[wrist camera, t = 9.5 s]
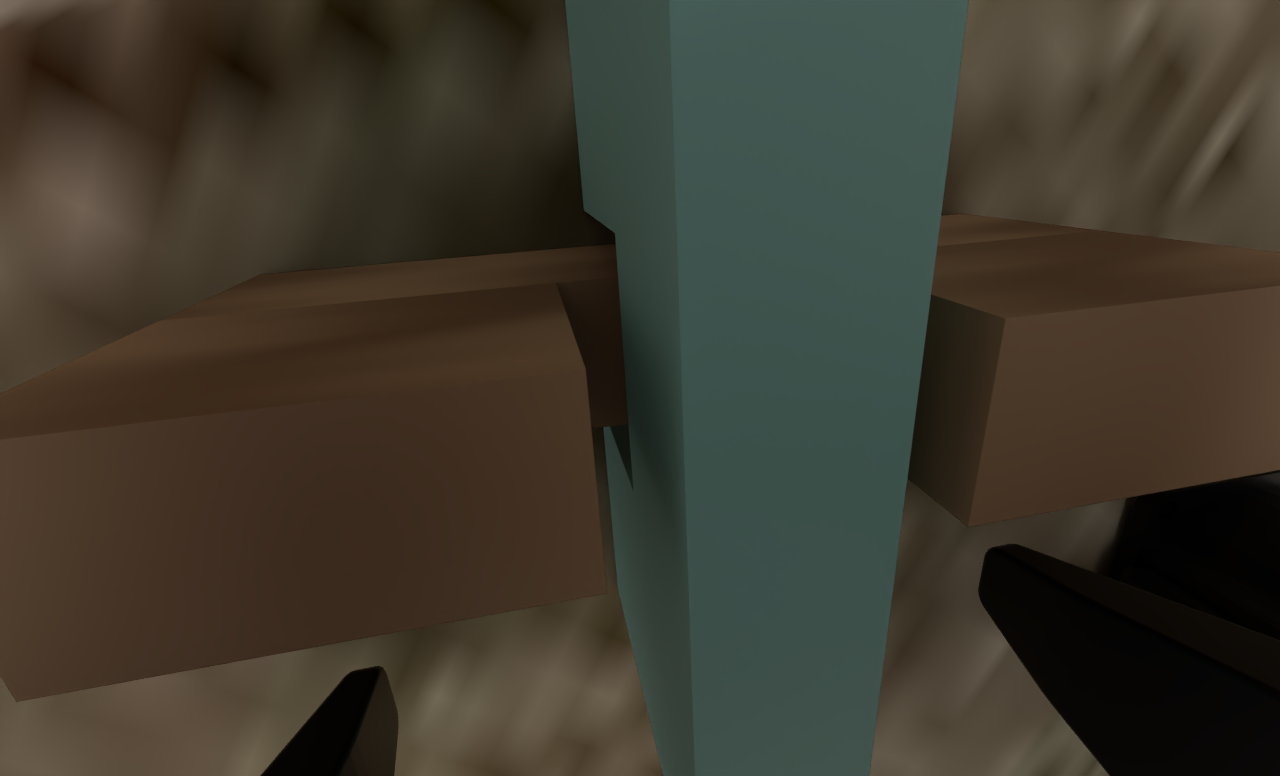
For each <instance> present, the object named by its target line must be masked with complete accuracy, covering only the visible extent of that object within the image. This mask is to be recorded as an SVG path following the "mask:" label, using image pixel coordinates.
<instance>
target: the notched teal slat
mask: <svg viewBox="0 0 1280 776" xmlns="http://www.w3.org/2000/svg"><path fill="white" fill-rule="evenodd" d="M968 2H969V0H565V5H566V16H567V27H568V39H569V50H570V61H571V72H572V83H573V94H574V106H575V117H576V128H577V139H578V150H579V161H580V173H581V184H582V195H583V206H584V211H585V212H587V213H588V214H589V215H591V216H592V217H594V218H595V219H596V220H598V221H599V222H600V223H602V224H603V225H605V226H606V227H607V228H609V229H610V230H611V231H613V232H614V233H615V241H616V255H617V269H618V283H619V297H620V311H621V325H622V339H623V353H624V367H625V381H626V394H627V408H628V422H629V424H624V425H617V426H610V427H603V429H604V440H605V452H606V463H607V474H608V485H609V496H610V507H611V519H612V530H613V541H614V552H615V563H616V574H617V586H618V592H619V596H620V600H621V604H622V608H623V612H624V616H625V620H626V625H627V629H628V633H629V637H630V641H631V645H632V649H633V653H634V657H635V662H636V666H637V670H638V674H639V678H640V682H641V686H642V690H643V694H644V699H645V703H646V707H647V711H648V715H649V719H650V723H651V727H652V731H653V736H654V740H655V744H656V748H657V752H658V756H659V760H660V764H661V768H662V773H663V776H869V773H870V766H871V758H872V750H873V742H874V734H875V727H876V719H877V711H878V703H879V695H880V688H881V680H882V672H883V664H884V656H885V649H886V641H887V633H888V625H889V618H890V610H891V602H892V594H893V586H894V579H895V571H896V563H897V555H898V547H899V540H900V532H901V524H902V516H903V508H904V501H905V493H906V485H907V477H908V469H909V462H910V454H911V446H912V438H913V431H914V423H915V415H916V407H917V399H918V392H919V384H920V376H921V368H922V360H923V353H924V345H925V337H926V329H927V321H928V314H929V306H930V298H931V290H932V282H933V275H934V267H935V259H936V251H937V244H938V236H939V228H940V220H941V212H942V205H943V197H944V189H945V181H946V173H947V166H948V158H949V150H950V142H951V134H952V127H953V119H954V111H955V103H956V95H957V88H958V80H959V72H960V64H961V57H962V49H963V41H964V33H965V25H966V18H967V10H968Z"/></svg>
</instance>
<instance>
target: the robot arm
mask: <svg viewBox="0 0 1280 776" xmlns="http://www.w3.org/2000/svg"><path fill="white" fill-rule="evenodd" d="M978 592H979V597H980V600H981V603H982V605H983V606H984V608H985V610H986V611H987V612H988V614H989V615H990V617H991V618H992V620H993V621H994V623H995V624H996V626H997V627H998V629H999V630H1000V631H1001V633H1002V634H1003V636H1004V637H1005V639H1006V640H1007V642H1008V643H1009V645H1010V646H1011V647H1012V649H1013V650H1014V652H1015V653H1016V655H1017V656H1018V658H1019V659H1020V661H1021V662H1022V663H1023V665H1024V666H1025V668H1026V669H1027V671H1028V672H1029V674H1030V675H1031V677H1032V678H1033V680H1034V681H1035V682H1036V684H1037V685H1038V687H1039V688H1040V689H1041V691H1042V692H1043V693H1044V695H1045V696H1046V698H1047V699H1048V700H1049V701H1050V703H1051V704H1052V705H1053V707H1054V708H1055V709H1056V710H1057V712H1058V713H1059V714H1060V715H1061V717H1062V718H1063V719H1064V720H1065V721H1066V723H1067V724H1068V725H1069V726H1070V728H1071V729H1072V730H1073V731H1074V732H1075V734H1076V735H1077V736H1078V737H1079V739H1080V740H1081V741H1082V742H1083V744H1084V745H1085V746H1086V747H1087V748H1088V750H1089V751H1090V752H1091V753H1092V755H1093V756H1094V757H1095V758H1096V759H1097V761H1098V762H1099V763H1100V764H1101V766H1102V767H1103V768H1104V769H1105V770H1106V772H1107V773H1108V774H1109V775H1110V776H1280V470H1276V471H1271V472H1265V473H1260V474H1254V475H1249V476H1243V477H1238V478H1232V479H1227V480H1222V481H1216V482H1211V483H1205V484H1200V485H1194V486H1189V487H1183V488H1178V489H1173V490H1167V491H1162V492H1156V493H1151V494H1145V495H1140V496H1138V497H1137V499H1136V501H1135V503H1134V506H1133V509H1132V513H1131V516H1130V519H1129V523H1128V526H1127V529H1126V533H1125V536H1124V539H1123V543H1122V546H1121V549H1120V553H1119V556H1118V559H1117V563H1116V566H1115V569H1114V573H1113V576H1112V579H1111V578H1108V577H1105V576H1103V575H1100V574H1097V573H1094V572H1092V571H1089V570H1086V569H1084V568H1081V567H1078V566H1075V565H1073V564H1070V563H1067V562H1064V561H1062V560H1059V559H1056V558H1053V557H1051V556H1048V555H1045V554H1043V553H1040V552H1037V551H1034V550H1032V549H1029V548H1026V547H1023V546H1021V545H1018V544H1007V545H1001V546H996V547H992V548H990V549H988V551H987V552H986V554H985V557H984V562H983V567H982V572H981V577H980V582H979V588H978ZM397 738H398V712H397V707H396V704H395V701H394V697H393V694H392V690H391V687H390V683H389V680H388V677H387V674H386V671H385V670H384V668H383V667H380V666H375V667H370V668H365V669H360V670H355V671H352V672H350V673H349V674H347V675H346V676H345V677H344V678H343V679H342V681H341V682H340V683H339V684H338V685H337V686H336V688H335V689H334V690H333V691H332V692H331V693H330V695H329V696H328V697H327V698H326V699H325V701H324V702H323V703H322V704H321V705H320V706H319V708H318V709H317V710H316V711H315V712H314V713H313V715H312V716H311V717H310V718H309V719H308V720H307V722H306V723H305V724H304V725H303V726H302V727H301V729H300V730H299V731H298V732H297V733H296V735H295V736H294V737H293V738H292V739H291V740H290V742H289V743H288V744H287V745H286V746H285V747H284V749H283V750H282V751H281V752H280V753H279V754H278V756H277V757H276V758H275V759H274V760H273V761H272V763H271V764H270V765H269V766H268V767H267V769H266V770H265V771H264V772H263V773H262V774H261V776H394V771H395V760H396V749H397Z"/></svg>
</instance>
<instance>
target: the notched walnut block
mask: <svg viewBox="0 0 1280 776" xmlns="http://www.w3.org/2000/svg"><path fill="white" fill-rule="evenodd" d="M624 424H629V422H628V408H627V394H626V381H625V367H624V353H623V339H622V325H621V311H620V297H619V283H618V269H617V255H616V244H607V245H595V246H584V247H572V248H561V249H549V250H538V251H526V252H514V253H503V254H491V255H480V256H468V257H457V258H445V259H433V260H422V261H410V262H399V263H387V264H376V265H364V266H352V267H341V268H329V269H318V270H306V271H295V272H283V273H271V274H261V275H258V276H256V277H254V278H252V279H250V280H247V281H245V282H243V283H241V284H239V285H237V286H234V287H232V288H230V289H228V290H226V291H223V292H221V293H219V294H217V295H215V296H213V297H210V298H208V299H206V300H204V301H202V302H199V303H197V304H195V305H193V306H191V307H189V308H186V309H184V310H182V311H180V312H178V313H175V314H173V315H171V316H169V317H167V318H165V319H162V320H160V321H158V322H156V323H154V324H151V325H149V326H147V327H145V328H143V329H141V330H138V331H136V332H134V333H132V334H130V335H127V336H125V337H123V338H121V339H119V340H117V341H114V342H112V343H110V344H108V345H106V346H103V347H101V348H99V349H97V350H95V351H93V352H90V353H88V354H86V355H84V356H82V357H79V358H77V359H75V360H73V361H71V362H69V363H66V364H64V365H62V366H60V367H58V368H55V369H53V370H51V371H49V372H47V373H45V374H42V375H40V376H38V377H36V378H34V379H31V380H29V381H27V382H25V383H23V384H21V385H18V386H16V387H14V388H12V389H10V390H8V391H5V392H3V393H1V394H0V676H1V678H2V679H3V681H4V683H5V684H6V686H7V687H8V689H9V691H10V692H11V694H12V696H13V697H14V699H15V700H16V702H19V701H24V700H30V699H35V698H40V697H46V696H51V695H57V694H62V693H68V692H73V691H79V690H84V689H89V688H95V687H100V686H106V685H111V684H117V683H122V682H128V681H133V680H138V679H144V678H149V677H155V676H160V675H166V674H171V673H177V672H182V671H187V670H193V669H198V668H204V667H209V666H215V665H220V664H226V663H231V662H236V661H242V660H247V659H253V658H258V657H264V656H269V655H275V654H280V653H285V652H291V651H296V650H302V649H307V648H313V647H318V646H324V645H329V644H334V643H340V642H345V641H351V640H356V639H362V638H367V637H372V636H378V635H383V634H389V633H394V632H400V631H405V630H411V629H416V628H421V627H427V626H432V625H438V624H443V623H449V622H454V621H460V620H465V619H470V618H476V617H481V616H487V615H492V614H498V613H503V612H509V611H514V610H519V609H525V608H530V607H536V606H541V605H547V604H552V603H558V602H563V601H568V600H574V599H579V598H585V597H590V596H596V595H601V594H607V584H606V574H605V563H604V553H603V543H602V532H601V522H600V512H599V501H598V491H597V481H596V470H595V460H594V450H593V439H592V429H595V428H602V427H610V426H617V425H624ZM1276 470H1280V253H1278V252H1269V251H1261V250H1253V249H1245V248H1237V247H1229V246H1221V245H1212V244H1204V243H1196V242H1188V241H1180V240H1172V239H1163V238H1155V237H1147V236H1139V235H1131V234H1123V233H1115V232H1106V231H1098V230H1090V229H1082V228H1074V227H1066V226H1057V225H1049V224H1041V223H1033V222H1025V221H1017V220H1009V219H1000V218H992V217H984V216H976V215H968V214H954V215H943V216H941V220H940V228H939V236H938V244H937V251H936V259H935V267H934V275H933V282H932V290H931V298H930V306H929V314H928V321H927V329H926V337H925V345H924V353H923V360H922V368H921V376H920V384H919V392H918V399H917V407H916V415H915V423H914V431H913V438H912V446H911V454H910V462H909V469H908V477H907V478H908V479H909V480H911V481H912V482H913V483H914V484H916V485H917V486H918V487H919V488H921V489H922V490H923V491H924V492H925V493H927V494H928V495H929V496H930V497H932V498H933V499H934V500H935V501H937V502H938V503H939V504H940V505H942V506H943V507H944V508H945V509H946V510H948V511H949V512H950V513H951V514H953V515H954V516H955V517H956V518H958V519H959V520H960V521H961V522H963V523H964V524H965V525H966V526H967V527H971V526H977V525H982V524H988V523H993V522H998V521H1004V520H1009V519H1015V518H1020V517H1026V516H1031V515H1037V514H1042V513H1047V512H1053V511H1058V510H1064V509H1069V508H1075V507H1080V506H1086V505H1091V504H1096V503H1102V502H1107V501H1113V500H1118V499H1124V498H1129V497H1135V496H1140V495H1145V494H1151V493H1156V492H1162V491H1167V490H1173V489H1178V488H1183V487H1189V486H1194V485H1200V484H1205V483H1211V482H1216V481H1222V480H1227V479H1232V478H1238V477H1243V476H1249V475H1254V474H1260V473H1265V472H1271V471H1276Z"/></svg>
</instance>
